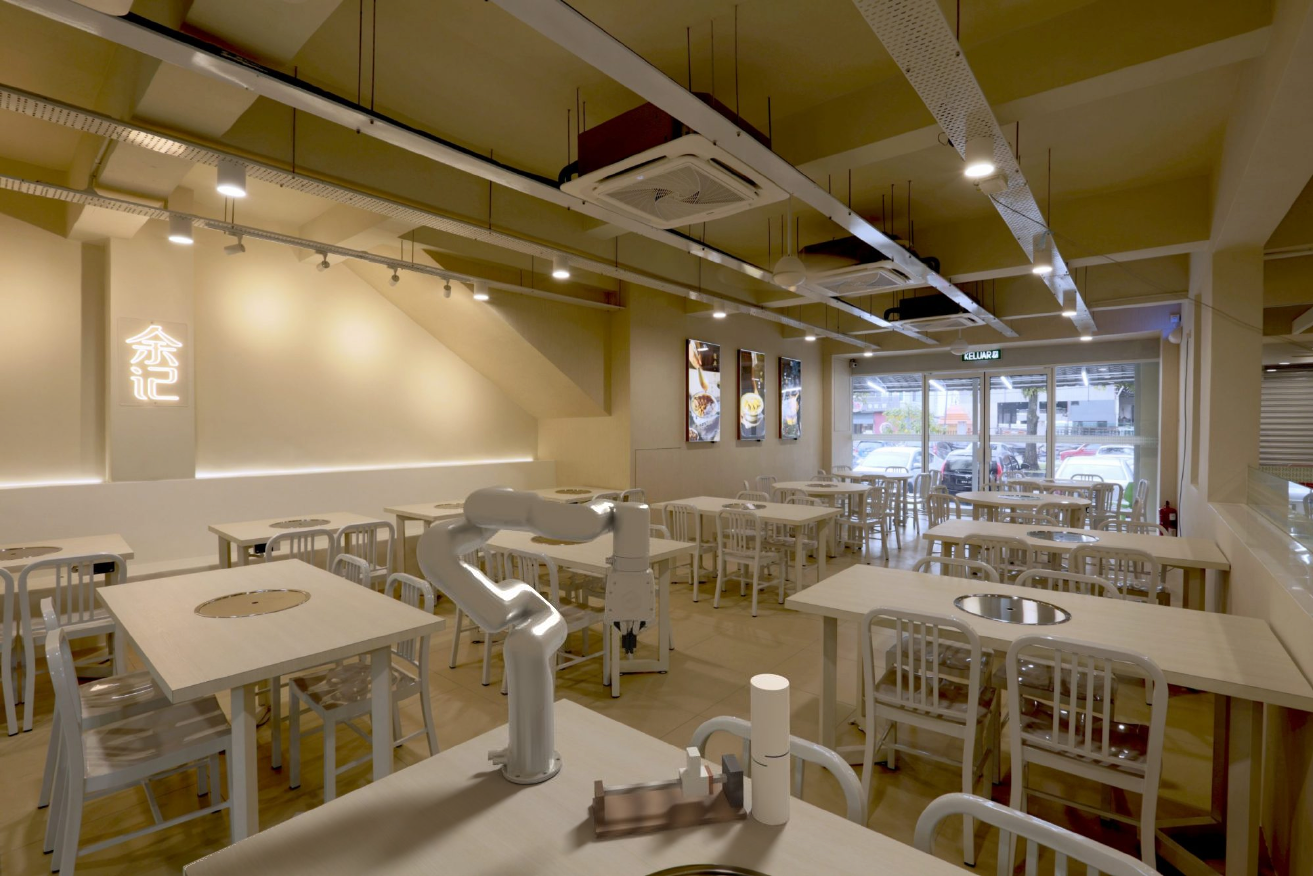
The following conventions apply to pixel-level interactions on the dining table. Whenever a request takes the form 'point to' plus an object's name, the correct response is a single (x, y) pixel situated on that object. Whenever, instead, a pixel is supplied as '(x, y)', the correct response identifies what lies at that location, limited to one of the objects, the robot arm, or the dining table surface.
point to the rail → (669, 803)
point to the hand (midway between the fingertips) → (628, 651)
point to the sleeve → (694, 775)
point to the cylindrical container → (770, 749)
